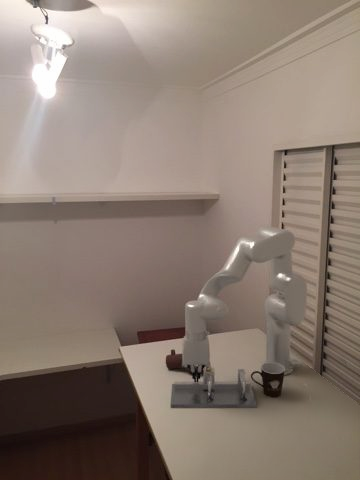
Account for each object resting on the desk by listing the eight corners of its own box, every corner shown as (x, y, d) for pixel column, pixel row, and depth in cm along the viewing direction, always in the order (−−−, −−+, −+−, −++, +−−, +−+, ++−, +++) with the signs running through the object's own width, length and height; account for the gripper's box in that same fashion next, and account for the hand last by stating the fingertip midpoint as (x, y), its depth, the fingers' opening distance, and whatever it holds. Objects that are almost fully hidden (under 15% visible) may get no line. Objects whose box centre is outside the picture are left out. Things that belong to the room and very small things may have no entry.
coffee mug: (286, 389, 159) (287, 364, 157) (281, 401, 151) (282, 375, 149) (255, 383, 164) (256, 359, 162) (249, 394, 156) (250, 369, 154)
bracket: (206, 371, 168) (203, 345, 170) (166, 374, 173) (164, 349, 176) (210, 370, 174) (207, 345, 176) (171, 373, 179) (169, 349, 181)
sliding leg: (213, 383, 161) (213, 364, 159) (215, 399, 150) (215, 378, 149) (203, 383, 161) (203, 364, 159) (204, 399, 151) (204, 378, 149)
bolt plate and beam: (250, 386, 162) (250, 366, 160) (256, 407, 148) (256, 385, 146) (172, 386, 162) (171, 366, 161) (170, 407, 149) (170, 386, 147)
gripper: (215, 330, 159) (215, 375, 162) (175, 330, 159) (176, 375, 162) (216, 338, 151) (216, 385, 155) (174, 338, 152) (176, 385, 155)
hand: (196, 380), depth 158 cm, fingers closed
